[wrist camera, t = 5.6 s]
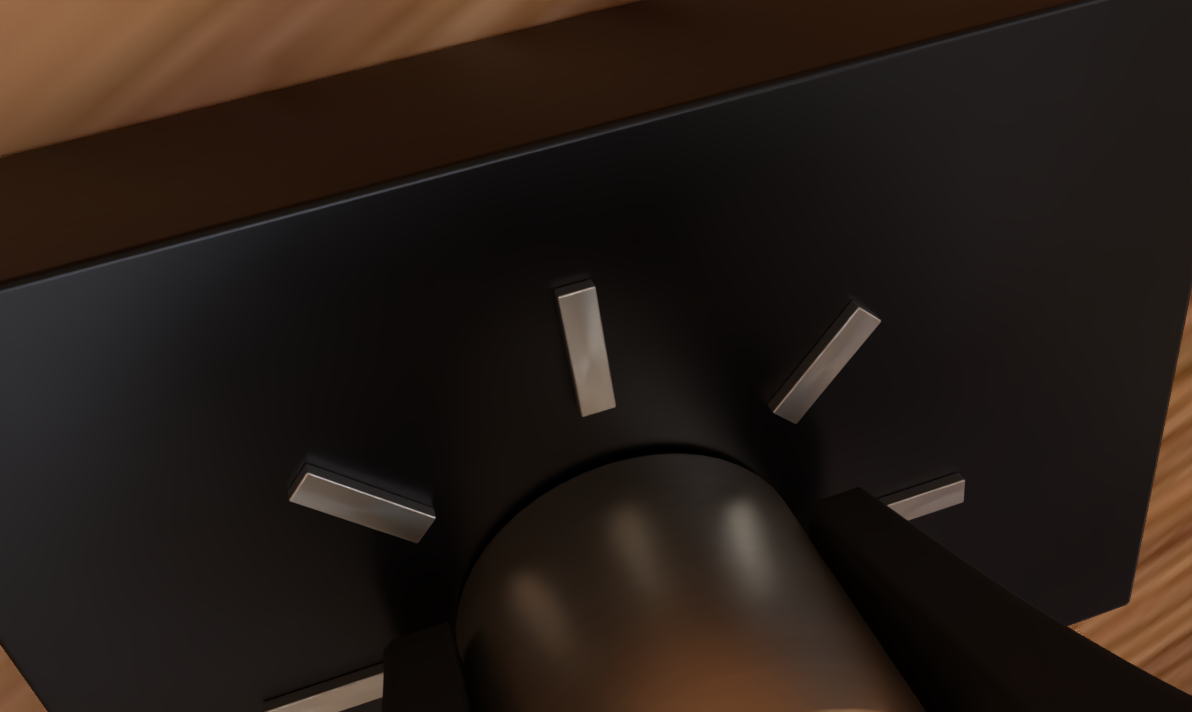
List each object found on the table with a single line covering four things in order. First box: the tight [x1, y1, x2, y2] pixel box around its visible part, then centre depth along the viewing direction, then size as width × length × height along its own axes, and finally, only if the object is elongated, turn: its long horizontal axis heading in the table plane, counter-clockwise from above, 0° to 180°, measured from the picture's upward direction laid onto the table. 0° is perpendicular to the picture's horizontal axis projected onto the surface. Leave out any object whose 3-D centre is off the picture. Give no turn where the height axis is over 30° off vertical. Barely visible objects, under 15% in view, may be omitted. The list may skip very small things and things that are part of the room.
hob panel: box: [0, 0, 1192, 712], centre depth 13 cm, size 13×10×3 cm
